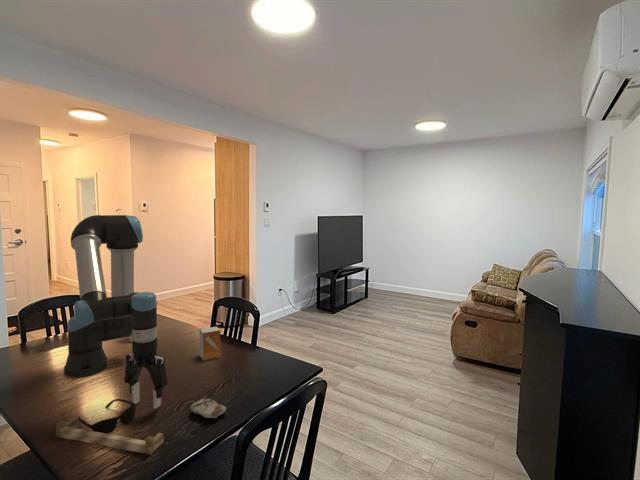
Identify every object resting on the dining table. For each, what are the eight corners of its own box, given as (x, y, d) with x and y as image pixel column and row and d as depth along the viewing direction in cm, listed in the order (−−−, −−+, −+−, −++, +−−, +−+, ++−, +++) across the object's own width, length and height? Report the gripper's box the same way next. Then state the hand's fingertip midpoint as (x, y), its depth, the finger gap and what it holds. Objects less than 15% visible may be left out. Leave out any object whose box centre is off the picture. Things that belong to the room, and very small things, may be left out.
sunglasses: (96, 442, 99) (96, 425, 99) (68, 425, 107) (68, 410, 106) (141, 418, 111) (140, 403, 111) (112, 404, 119) (112, 390, 118)
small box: (203, 361, 154) (202, 332, 153) (199, 356, 159) (199, 329, 158) (220, 357, 159) (220, 329, 158) (216, 352, 164) (216, 326, 163)
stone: (184, 412, 113) (184, 402, 113) (207, 402, 120) (207, 392, 120) (208, 424, 106) (208, 414, 106) (230, 412, 114) (231, 402, 114)
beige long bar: (55, 437, 101) (54, 424, 100) (73, 425, 106) (72, 413, 106) (150, 455, 93) (150, 441, 93) (164, 441, 99) (164, 428, 99)
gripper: (110, 340, 113) (112, 406, 115) (163, 346, 108) (165, 415, 110) (127, 332, 120) (129, 395, 122) (178, 338, 116) (180, 403, 117)
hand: (146, 404), depth 116 cm, fingers open, 8 cm apart
